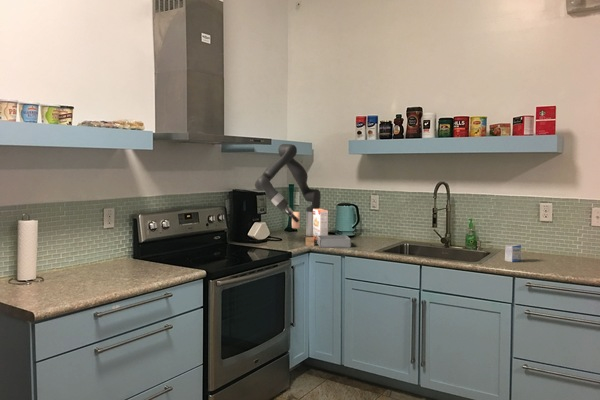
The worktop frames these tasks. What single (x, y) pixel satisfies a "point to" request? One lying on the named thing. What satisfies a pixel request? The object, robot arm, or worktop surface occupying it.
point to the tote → (334, 241)
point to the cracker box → (320, 223)
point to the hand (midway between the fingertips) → (298, 220)
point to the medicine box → (513, 253)
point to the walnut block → (309, 241)
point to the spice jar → (294, 223)
